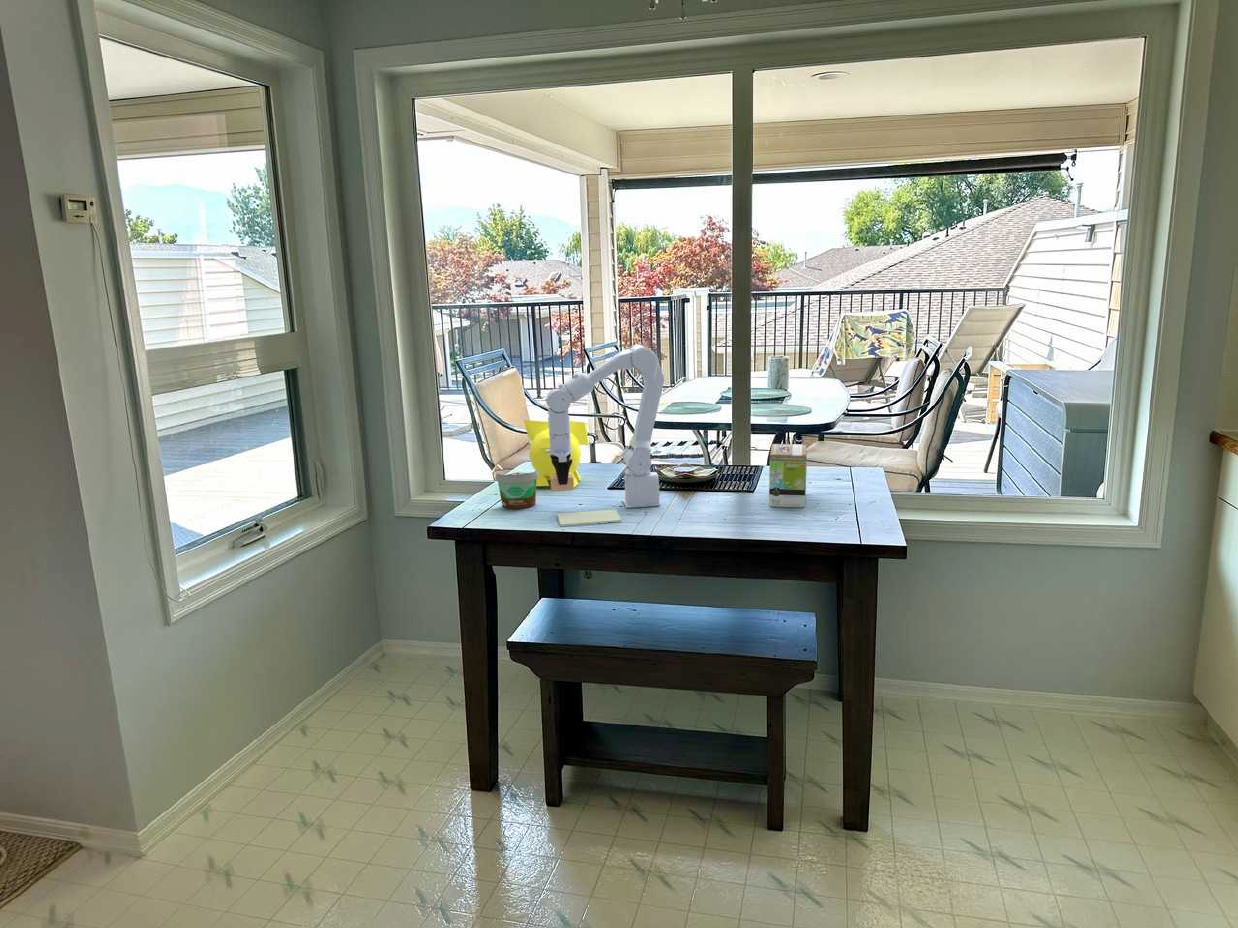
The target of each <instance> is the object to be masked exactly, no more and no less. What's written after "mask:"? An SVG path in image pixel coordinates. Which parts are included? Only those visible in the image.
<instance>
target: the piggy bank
mask: <svg viewBox="0 0 1238 928" xmlns="http://www.w3.org/2000/svg"><path fill="white" fill-rule="evenodd" d="M523 422H524V426H525V431H526V433H527V437H528V438H527V439H528V440H530V441H531V444H530V450H529V456H528V457H529V459H530V463H531V466H532V467H533V469H534V470H535V471H536V469H537V471H538V475H539V477H538V478H537V479H536V487H549V486H550V484H549V482H550V481H551V477H550V475H557V474H556V470H555V467H554V465H553V464H552V461H551V460H552V459H551V457H550V455H552V454H550V453H546V450H549V449H550V439H549V423H548V421H542V420H540V421H539V420H529V419H527V420H526V419H524V420H523ZM588 424H589V422H582V421H573V420H570V438H571V449H572V452H571V453H570V454H571V456H570V458H569V459H572V460H573V461H572V464H571V466H570V469H569V474H572V475H573V480H574V488H575V487H577V486H578V484H579V482H581V480H582V479H581V478H582V477H581V476H580V474H579V473H578V470H577V469H578V467H579V465H580V464H581V463H580V462H581V454H582V452H581V446H580V445H582V446H586V447H589V436H588V429H587V426H588Z"/></svg>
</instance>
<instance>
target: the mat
mask: <svg viewBox="0 0 1238 928" xmlns="http://www.w3.org/2000/svg"><path fill="white" fill-rule="evenodd" d="M557 519H558V523H559V527H561V528H562V527H573V526H587V525H598V523H601V524H609V523H608V522H615V523H622V518H621V516H620V514H619V513H618V510H617V509H606V510H605V509H604V510H602V509H601V510H590V511H589V510H588V511H578V512H565V513H564V512H562V513H557Z"/></svg>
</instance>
